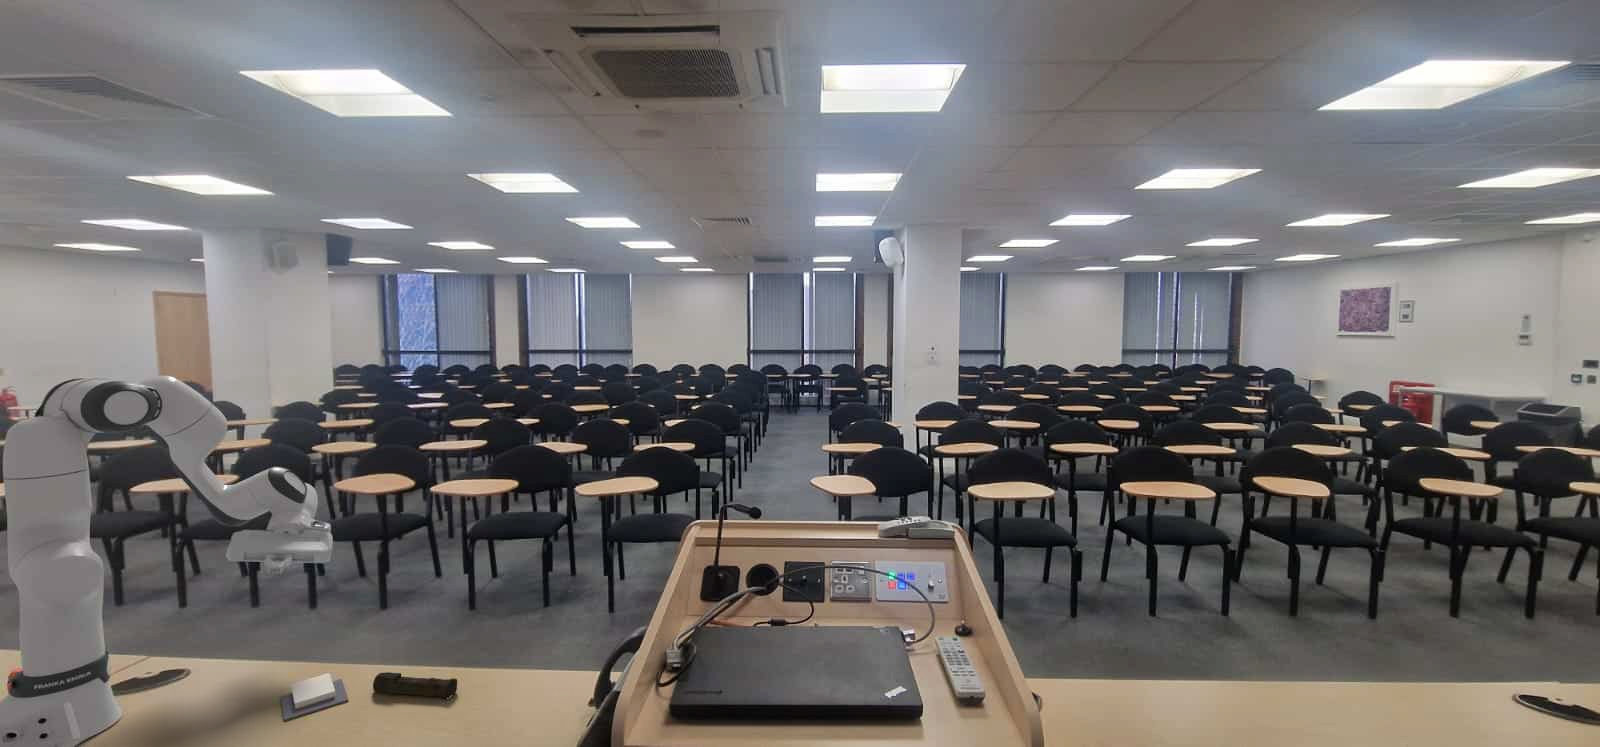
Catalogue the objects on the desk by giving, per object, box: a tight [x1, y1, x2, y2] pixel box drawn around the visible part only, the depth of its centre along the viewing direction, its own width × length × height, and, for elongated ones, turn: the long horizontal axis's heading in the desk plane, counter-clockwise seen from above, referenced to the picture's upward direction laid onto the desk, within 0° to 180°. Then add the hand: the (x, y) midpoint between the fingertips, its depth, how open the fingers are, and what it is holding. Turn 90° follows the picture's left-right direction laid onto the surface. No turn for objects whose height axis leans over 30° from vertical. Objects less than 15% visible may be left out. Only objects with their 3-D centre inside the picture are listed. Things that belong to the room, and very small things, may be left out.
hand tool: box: [372, 671, 458, 700], centre depth 145 cm, size 19×4×5 cm, turn 82°
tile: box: [290, 672, 335, 709], centre depth 144 cm, size 7×2×10 cm
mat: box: [280, 678, 349, 722], centre depth 143 cm, size 11×11×1 cm
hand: (274, 570), depth 153 cm, fingers closed
